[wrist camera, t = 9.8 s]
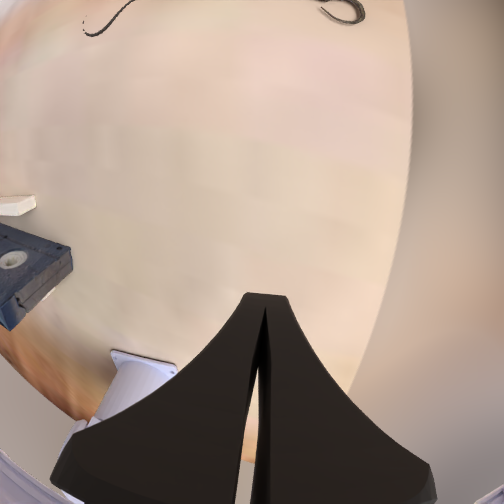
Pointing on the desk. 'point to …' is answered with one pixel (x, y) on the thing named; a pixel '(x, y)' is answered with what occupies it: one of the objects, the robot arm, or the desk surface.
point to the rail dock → (18, 210)
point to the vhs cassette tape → (28, 272)
